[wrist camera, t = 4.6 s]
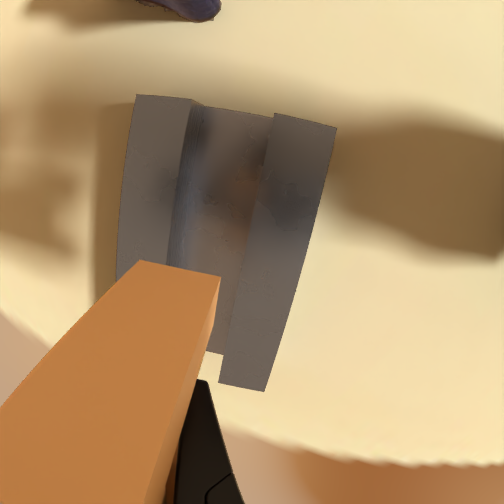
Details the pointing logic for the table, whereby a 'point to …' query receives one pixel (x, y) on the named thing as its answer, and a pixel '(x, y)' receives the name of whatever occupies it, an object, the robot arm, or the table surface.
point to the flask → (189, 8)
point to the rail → (225, 214)
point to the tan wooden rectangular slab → (111, 395)
